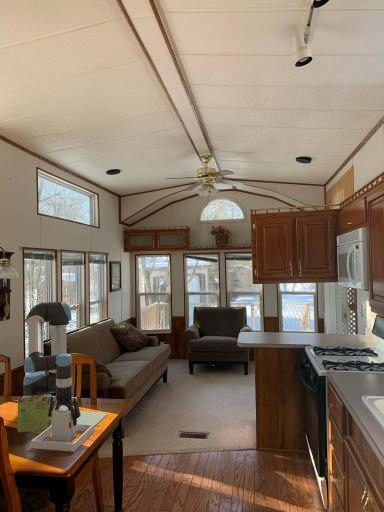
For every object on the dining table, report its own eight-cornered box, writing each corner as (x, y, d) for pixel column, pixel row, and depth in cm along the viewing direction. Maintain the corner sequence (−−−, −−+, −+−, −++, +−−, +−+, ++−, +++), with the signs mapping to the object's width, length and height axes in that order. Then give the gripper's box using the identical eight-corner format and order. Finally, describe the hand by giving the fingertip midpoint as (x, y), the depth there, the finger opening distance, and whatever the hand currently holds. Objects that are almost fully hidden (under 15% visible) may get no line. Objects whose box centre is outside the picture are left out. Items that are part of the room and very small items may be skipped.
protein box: (48, 430, 203) (48, 400, 203) (17, 432, 200) (17, 402, 201) (52, 422, 213) (51, 394, 214) (22, 424, 211) (22, 395, 211)
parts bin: (31, 448, 183) (31, 440, 183) (55, 428, 205) (55, 421, 205) (74, 451, 179) (74, 444, 179) (94, 431, 201) (94, 424, 201)
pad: (63, 425, 208) (63, 423, 208) (78, 413, 226) (78, 411, 226) (94, 427, 205) (94, 425, 205) (107, 414, 223) (107, 413, 223)
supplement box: (67, 444, 186) (67, 413, 187) (51, 442, 188) (50, 411, 189) (77, 436, 195) (76, 406, 196) (61, 434, 197) (60, 405, 198)
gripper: (39, 387, 191) (40, 433, 190) (80, 389, 187) (81, 436, 186) (48, 382, 198) (48, 426, 198) (87, 384, 194) (88, 429, 194)
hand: (64, 431), depth 192 cm, fingers closed on supplement box, 9 cm apart
